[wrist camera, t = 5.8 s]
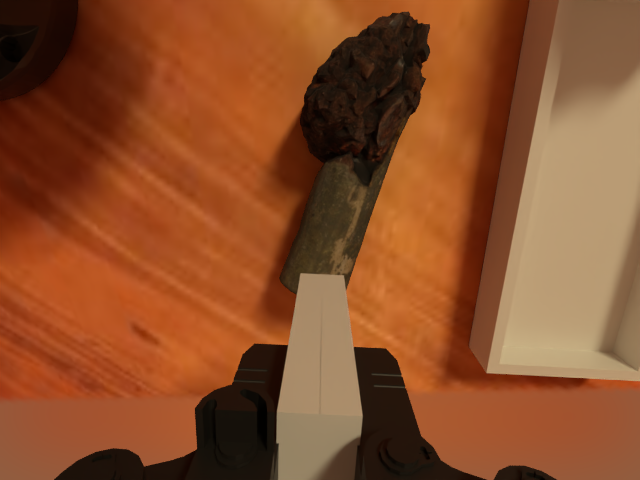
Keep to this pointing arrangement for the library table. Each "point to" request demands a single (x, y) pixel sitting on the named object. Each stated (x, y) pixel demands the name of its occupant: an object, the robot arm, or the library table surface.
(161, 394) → the library table surface
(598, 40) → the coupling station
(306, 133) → the metal pipe
